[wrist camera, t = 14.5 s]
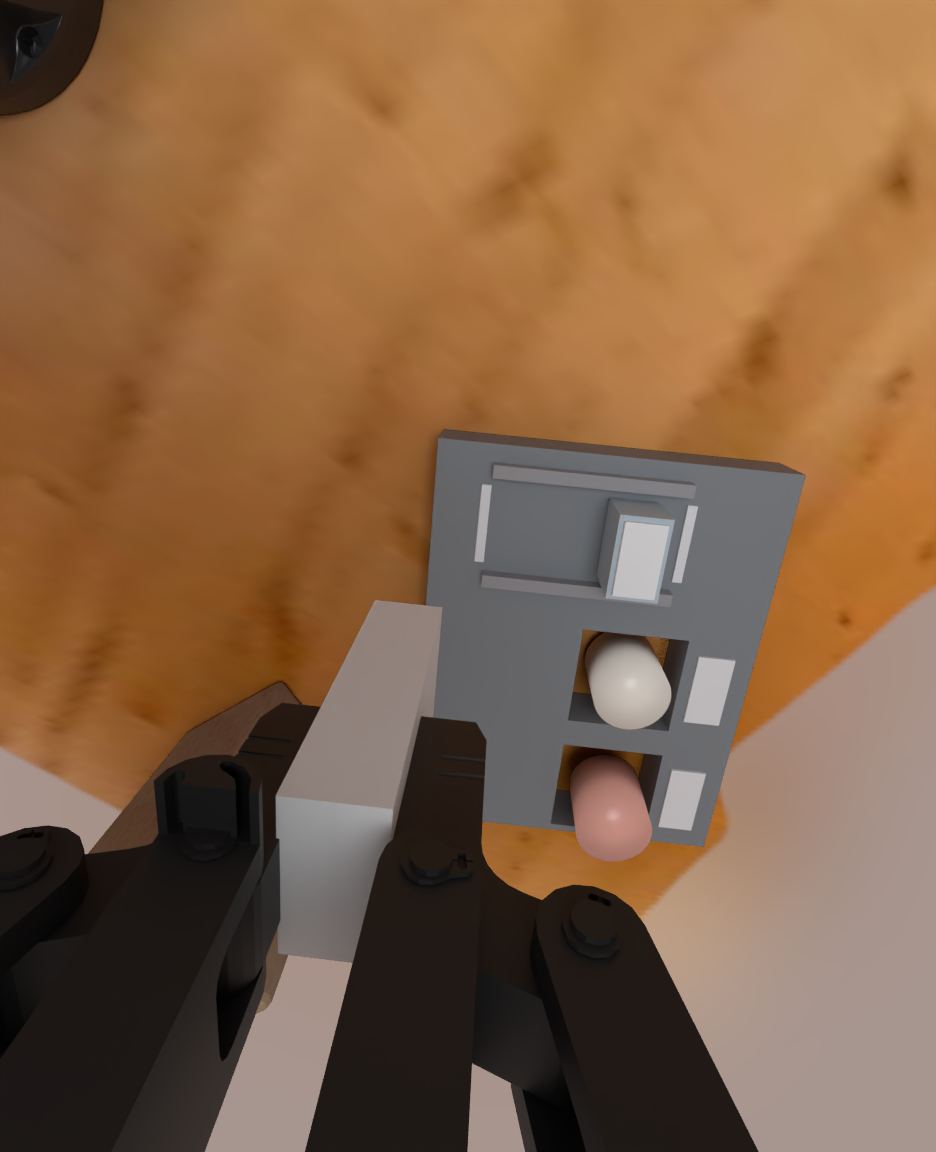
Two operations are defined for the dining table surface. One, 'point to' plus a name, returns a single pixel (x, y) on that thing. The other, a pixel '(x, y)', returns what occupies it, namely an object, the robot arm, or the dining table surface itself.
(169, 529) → the dining table surface
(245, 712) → the wooden block
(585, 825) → the button coral
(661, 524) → the slider knob
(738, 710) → the console
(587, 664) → the button ivory
